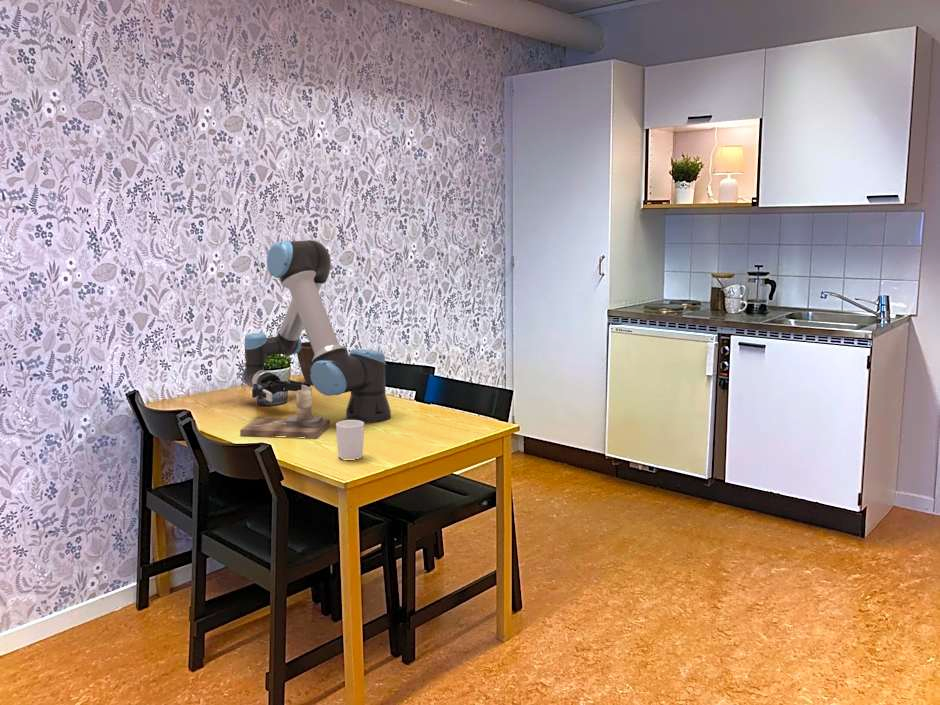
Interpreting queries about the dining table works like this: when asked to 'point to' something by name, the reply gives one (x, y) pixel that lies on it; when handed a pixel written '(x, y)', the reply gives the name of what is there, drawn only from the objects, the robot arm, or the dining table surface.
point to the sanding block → (304, 412)
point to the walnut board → (280, 428)
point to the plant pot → (306, 360)
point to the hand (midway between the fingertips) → (291, 395)
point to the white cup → (350, 438)
